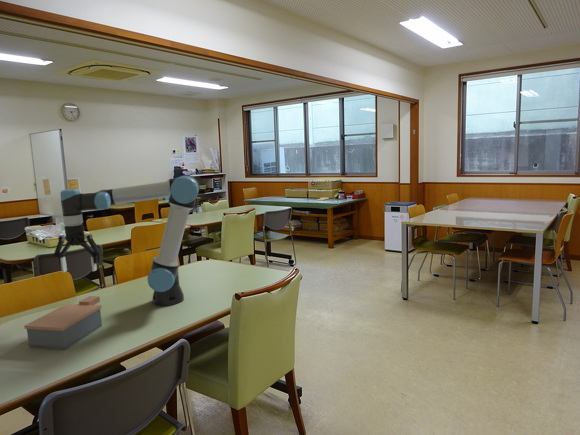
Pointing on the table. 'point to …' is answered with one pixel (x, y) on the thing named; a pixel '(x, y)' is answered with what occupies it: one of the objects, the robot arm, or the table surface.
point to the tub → (64, 334)
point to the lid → (66, 315)
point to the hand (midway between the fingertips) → (79, 271)
